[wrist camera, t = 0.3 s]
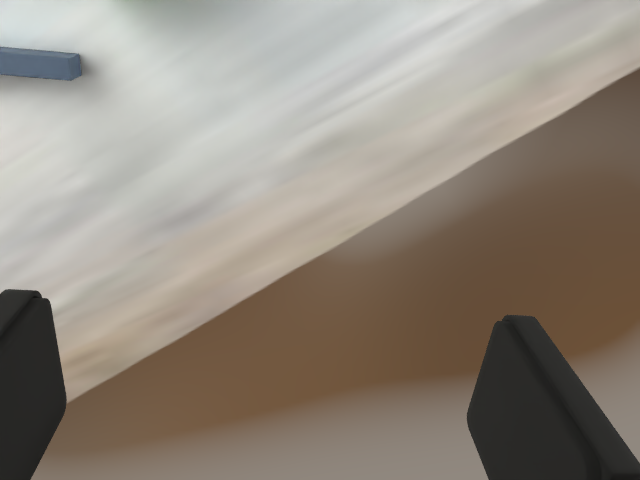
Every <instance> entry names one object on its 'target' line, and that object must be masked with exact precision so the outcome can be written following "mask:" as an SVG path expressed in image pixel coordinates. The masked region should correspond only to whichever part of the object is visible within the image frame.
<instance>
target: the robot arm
mask: <svg viewBox="0 0 640 480" xmlns="http://www.w3.org/2000/svg"><path fill="white" fill-rule="evenodd" d="M66 401H67V399H66V392H65V386H64V380H63V374H62V368H61V362H60V356H59V351H58V345H57V339H56V333H55V327H54V321H53V315H52V309H51V304H50V301H49V300H48V299H47V298H42V296H41V294H40V293H39V292H38V291H32V290H13V289H8V290H5V291H3V292H2V293H1V294H0V480H30V479H31V477H32V476H33V473H34V472H35V470H36V468H37V466H38V464H39V462H40V460H41V458H42V456H43V454H44V452H45V450H46V448H47V446H48V444H49V442H50V441H51V439H52V437H53V435H54V433H55V431H56V429H57V427H58V425H59V423H60V421H61V419H62V417H63V415H64V412H65V409H66ZM467 423H468V427H469V431H470V433H471V436H472V438H473V440H474V443H475V446H476V448H477V451H478V453H479V456H480V458H481V461H482V463H483V466H484V469H485V471H486V474H487V476H488V479H489V480H640V463H639V462H638V460H637V459H636V458H635V456H634V455H633V454H632V452H631V451H630V449H629V448H628V446H627V445H626V444H625V442H624V441H623V439H622V438H621V437H620V435H619V434H618V432H617V431H616V430H615V428H614V427H613V426H612V424H611V423H610V421H609V420H608V418H607V417H606V416H605V414H604V413H603V411H602V410H601V409H600V407H599V406H598V405H597V403H596V402H595V400H594V399H593V397H592V396H591V395H590V393H589V392H588V391H587V389H586V388H585V386H584V385H583V384H582V382H581V381H580V379H579V378H578V376H577V375H576V374H575V372H574V371H573V370H572V368H571V367H570V365H569V364H568V363H567V361H566V360H565V358H564V357H563V355H562V354H561V353H560V352H559V350H558V349H557V347H556V346H555V344H554V343H553V342H552V340H551V339H550V337H549V336H548V335H547V333H546V332H545V330H544V329H543V328H542V326H541V325H540V323H539V322H538V321H537V319H536V318H535V317H532V316H518V315H506V316H505V317H504V318H503V319H502V321H497V322H496V323H495V325H494V327H493V330H492V334H491V337H490V340H489V343H488V347H487V350H486V353H485V356H484V360H483V363H482V366H481V369H480V373H479V376H478V379H477V383H476V385H475V389H474V392H473V395H472V398H471V402H470V405H469V408H468V412H467Z"/></svg>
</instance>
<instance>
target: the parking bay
mask: <svg viewBox="0 0 640 480" xmlns="http://www.w3.org/2000/svg"><path fill="white" fill-rule="evenodd" d="M0 75H10V76H22V77H34V78H46V79H58V80H69V81H71V80H73V79H75V78H77V77H79V76H81V66H80V57H79V54H75V53H64V52H52V51H41V50H30V49H19V48H8V47H0Z"/></svg>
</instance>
